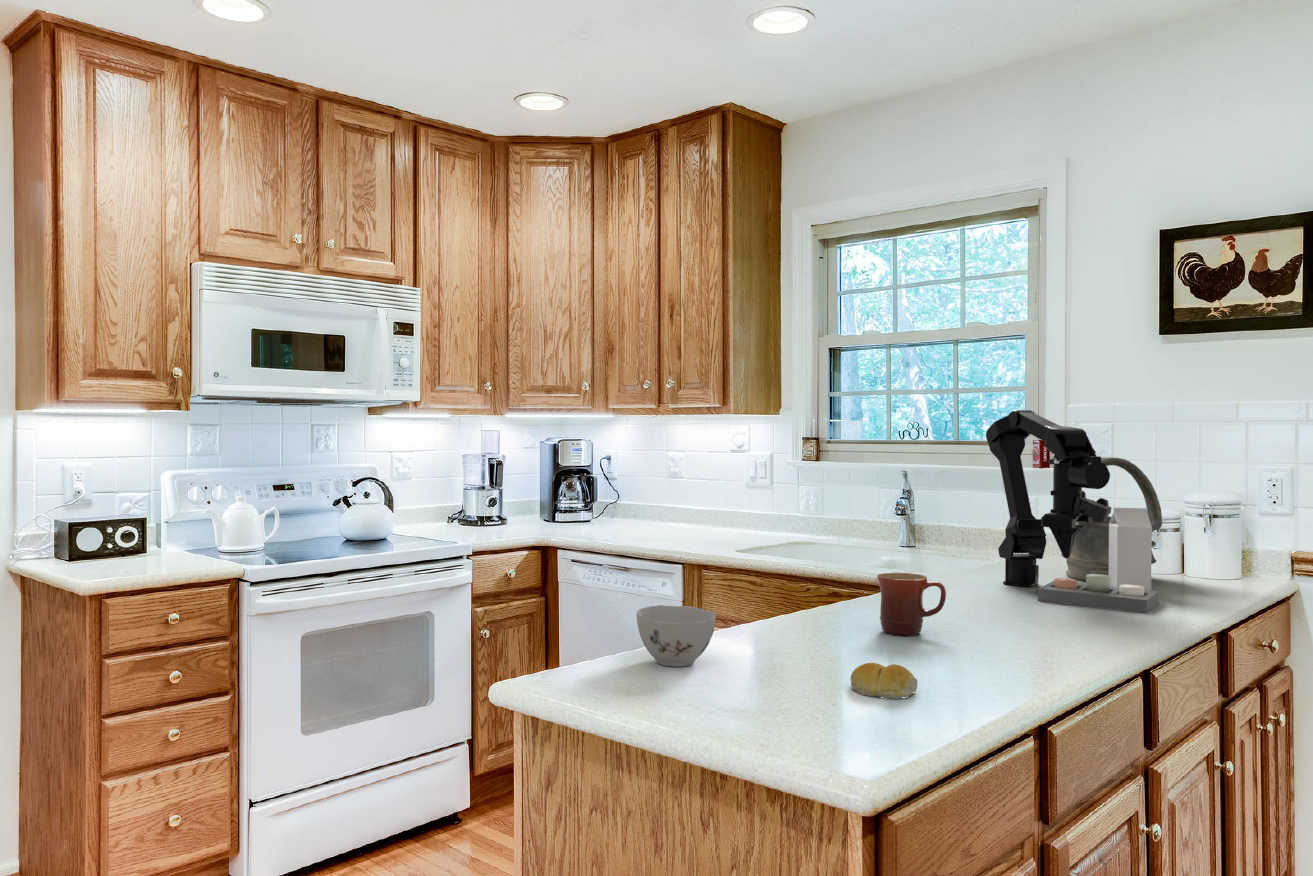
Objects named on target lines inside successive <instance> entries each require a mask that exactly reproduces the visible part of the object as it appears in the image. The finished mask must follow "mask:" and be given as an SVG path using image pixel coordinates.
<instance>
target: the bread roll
mask: <svg viewBox="0 0 1313 876" xmlns="http://www.w3.org/2000/svg"><path fill="white" fill-rule="evenodd" d="M850 685H851V688H852V689H853V690H854V691H855V692H856V691H857V692H856V693H858V694H859V693H860V695H862V694H863V696H866V695H867V697H871V696H876V697H879V698H880V697H883V698H902V697H907V696H910V695H912V694H913V692H915V691H917V689H918V679H917V678H916V677H915V676H914V674H913V673H912V671H910V670H909V669H907V668H906V667H904V666H902V665H900V664H895V663H894V664H889V665H886V666H884V665H882V664H880V663H877V662H866V663H863V664H860V665H859V666H857V667H856V668H854V670H853V671H852V673H851V675H850ZM915 693H916V692H915ZM913 695H914V694H913ZM913 695H912V696H913ZM910 697H911V696H910ZM883 698H882V699H883Z"/></svg>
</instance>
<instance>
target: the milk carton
mask: <svg viewBox="0 0 1313 876" xmlns="http://www.w3.org/2000/svg"><path fill="white" fill-rule="evenodd" d="M1112 508H1113V509H1112V510H1113V511H1112V512H1113V513H1112V514H1111V516H1110V517H1111V520H1110V522H1109V572H1108V576H1110V586H1113V587H1119V585H1138V586H1143V587H1144V590H1152V564H1151V558H1152V553H1153V550H1152V549H1153V547H1152V541H1153V532H1152V526H1151V523H1150V520H1149V517H1148V514H1147V507H1145V508H1144V507H1112Z"/></svg>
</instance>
